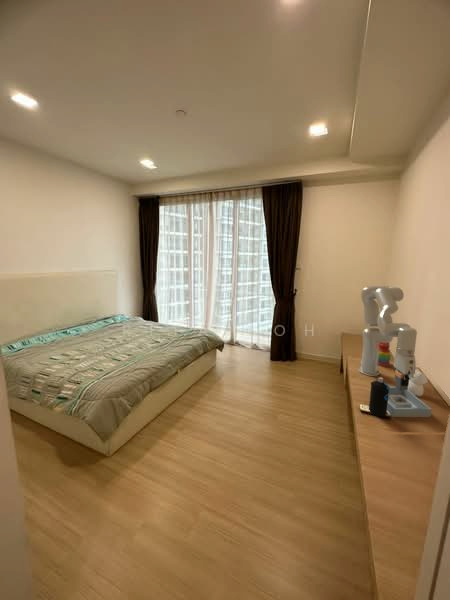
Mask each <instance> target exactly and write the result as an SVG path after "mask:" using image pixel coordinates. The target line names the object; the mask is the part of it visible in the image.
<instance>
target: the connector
mask: <svg viewBox="0 0 450 600" xmlns="http://www.w3.org/2000/svg"><path fill="white" fill-rule="evenodd" d="M394 372H395V373H394V387H396V388H397V389H398V390H400V391H401V390H408V386H402V385H401V384H402V379H403V373H402V372H401V371H394ZM406 376H407V375H406Z"/></svg>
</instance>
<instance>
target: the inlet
mask: <svg viewBox="0 0 450 600" xmlns="http://www.w3.org/2000/svg"><path fill="white" fill-rule="evenodd" d="M388 401H389V402H390V403H391V404H392V405H393V406H394V407H395V408H412V404H411V403H410V402H409V401H408V400H407V399H406V398H404V397H403V396H402V395H388ZM396 401H400V402H401V403H397V402H396Z"/></svg>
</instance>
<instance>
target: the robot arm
mask: <svg viewBox="0 0 450 600" xmlns="http://www.w3.org/2000/svg"><path fill="white" fill-rule="evenodd" d="M360 294H361V295H360V296H361V300H362V304H363V315H364V316H363V317H364V324H365V325H366V326H367V327H369V328H365V329H363V330H362V333H361V335H362V354H361V361H360V364H361V365H360V366H359V367H358V372H359V373H361V374H363V375H365V376H369V377H377V376H379V375H380V371H379V370H378V366H379V365H378V355H379V346H378V343H389V344H390V343H391V342H392V341H393V338H397V341H396V351H395V353H394V358H393V364H392V365H393V368H394V370H395V371H401V372H402V373H403V379H402V384H401V385H402V386H408V385H409V380H410V379H411V378H414V376H413V375H414V374H415V370H416V368H417V367H416V356H415V351H416V343H417V334H418V332H417V329H415V328H413V327H411V326H410V325H409V324H408V323H405V322H404V323H402V322H400V323H397V322H396V323H394V322H393V317H392V315H393V314H395V313H396V312H397V311H398V310H399V306H398V304H397V302H401V301H402V300H403V299H404V296H405V295H404V292H403V289H401V288H400V287H396V286H387V285H386V286H385V285H384V286H383V285H382V286H379V285H378V286H377V285H376V286H366V287H364V288H362V289H361V293H360ZM379 309H380V311H379ZM373 327H375V328H373ZM376 327H378V328H376ZM395 371H394V372H395ZM406 375H407V376H406Z"/></svg>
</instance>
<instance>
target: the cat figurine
mask: <svg viewBox="0 0 450 600" xmlns="http://www.w3.org/2000/svg"><path fill="white" fill-rule="evenodd" d="M413 376H414V378H411V379H410V380H409V385H408V390H409V391H410V392H411V393H412V394H414V395H415V396H416V397H421V396H423V395H424V391H425V390H424V389H425V388H424V386H423V385H425V384H427V382H428V378H427V375H425V374H424V373H423V371H420V368H415V374H414V375H413Z"/></svg>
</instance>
